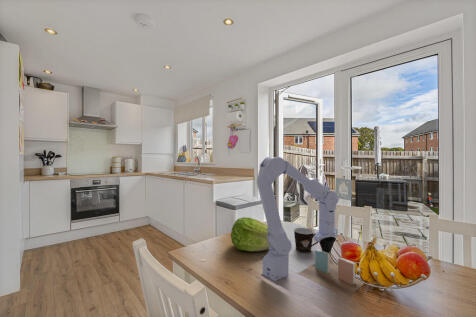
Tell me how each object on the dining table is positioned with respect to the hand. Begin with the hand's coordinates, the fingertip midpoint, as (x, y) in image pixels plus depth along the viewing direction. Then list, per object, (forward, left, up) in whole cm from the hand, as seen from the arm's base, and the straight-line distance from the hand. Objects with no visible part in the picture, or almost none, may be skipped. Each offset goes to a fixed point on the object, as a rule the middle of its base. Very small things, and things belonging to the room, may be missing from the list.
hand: (326, 255), depth 84 cm
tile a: (-3, 0, -5) cm, 6 cm away
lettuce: (-7, +31, -6) cm, 33 cm away
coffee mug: (+8, +14, -6) cm, 17 cm away
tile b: (-3, -9, -5) cm, 11 cm away
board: (-2, -5, -6) cm, 8 cm away
